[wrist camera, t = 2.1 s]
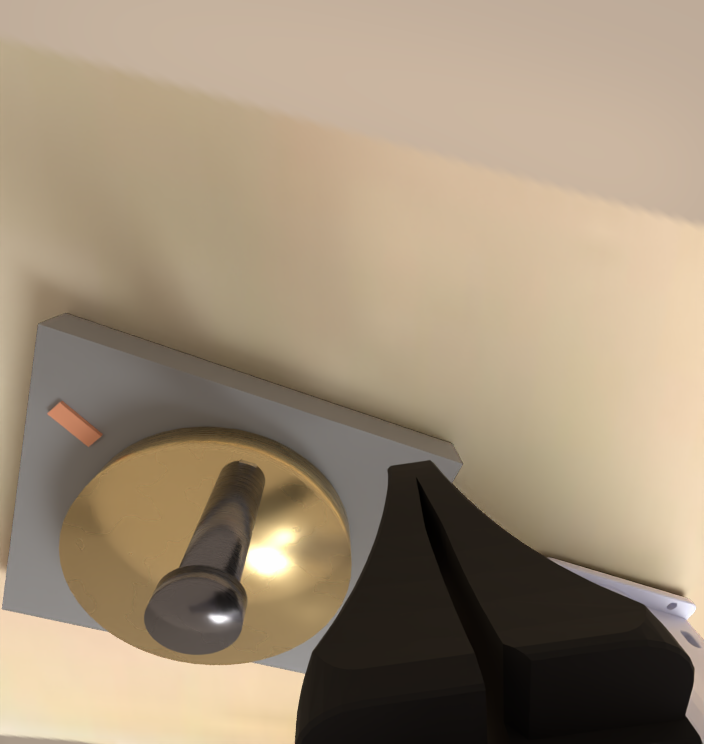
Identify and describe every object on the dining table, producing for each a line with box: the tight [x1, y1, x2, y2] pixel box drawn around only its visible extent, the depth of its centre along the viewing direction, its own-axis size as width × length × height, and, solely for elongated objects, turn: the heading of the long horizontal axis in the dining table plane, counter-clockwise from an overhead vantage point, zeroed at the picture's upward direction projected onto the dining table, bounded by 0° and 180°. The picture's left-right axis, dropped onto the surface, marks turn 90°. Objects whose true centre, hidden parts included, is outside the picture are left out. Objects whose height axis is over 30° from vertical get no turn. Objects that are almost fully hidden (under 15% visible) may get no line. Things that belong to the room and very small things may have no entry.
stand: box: [2, 313, 463, 674], centre depth 18 cm, size 16×14×2 cm
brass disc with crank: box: [59, 427, 352, 665], centre depth 14 cm, size 11×11×7 cm
